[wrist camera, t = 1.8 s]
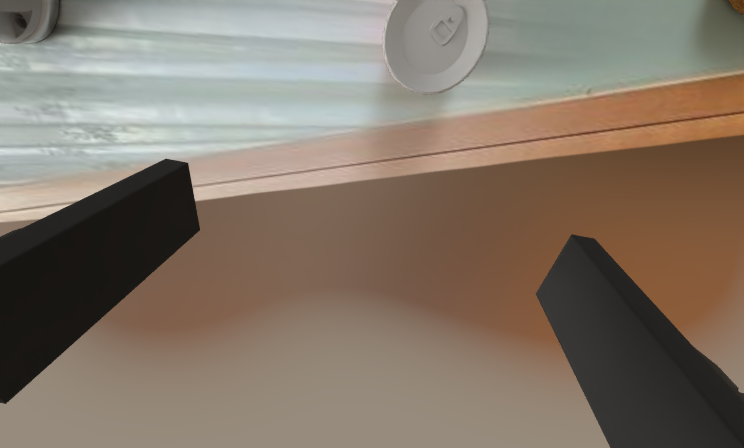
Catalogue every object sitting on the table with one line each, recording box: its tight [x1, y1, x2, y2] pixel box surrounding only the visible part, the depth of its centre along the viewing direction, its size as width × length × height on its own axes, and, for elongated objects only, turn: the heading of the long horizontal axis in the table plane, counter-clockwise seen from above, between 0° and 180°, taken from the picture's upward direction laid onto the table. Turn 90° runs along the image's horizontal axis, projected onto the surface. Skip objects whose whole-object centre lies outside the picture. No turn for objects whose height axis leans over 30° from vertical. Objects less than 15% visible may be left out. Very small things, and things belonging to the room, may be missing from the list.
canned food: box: [383, 0, 489, 94], centre depth 27 cm, size 8×8×11 cm
